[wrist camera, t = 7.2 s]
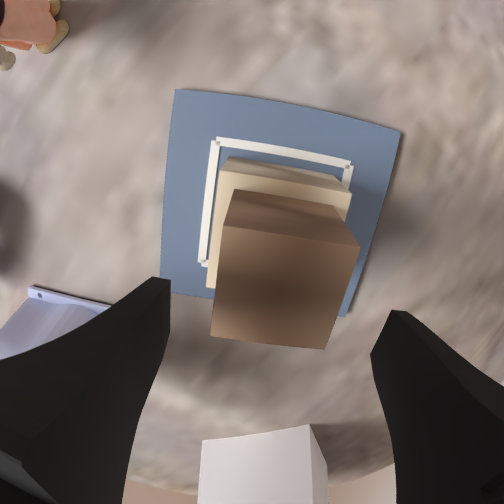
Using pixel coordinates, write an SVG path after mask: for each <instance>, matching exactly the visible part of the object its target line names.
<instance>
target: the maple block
mask: <svg viewBox="0 0 504 504" xmlns="http://www.w3.org/2000/svg"><path fill="white" fill-rule="evenodd" d="M234 189H239V190H245V191H252V192H258V193H265V194H271V195H277V196H283V197H289V198H295V199H300V200H306V201H312V202H317V203H322V204H328V205H333V206H334V208H335V209H336V211H337V212H338V214H339V215H340V217H341V218H342V220H343V221H344V222H345V219H346V215H347V211H348V208H349V204H350V200H351V196H352V194H351V193H350V191H349V190H348V189H347V188H346V187H345V186H344V185H343V184H342V183H341V182H340V181H339V180H338V179H337V178H336V177H335V176H334V175H330V174H325V173H320V172H316V171H311V170H305V169H300V168H295V167H290V166H284V165H278V164H273V163H267V162H261V161H255V160H248V159H242V158H235V157H228V158H227V160H226V161H225V163H224V164H223V166H222V168H221V169H220V172H219V179H218V186H217V194H216V202H215V210H214V218H213V226H212V235H211V244H210V252H209V262H208V271H207V281H206V287H208V288H214V289H215V287H216V278H217V269H218V261H219V253H220V244H221V236H222V229H223V223H224V220H225V217H226V214H227V210H228V207H229V204H230V201H231V197H232V194H233V191H234Z"/></svg>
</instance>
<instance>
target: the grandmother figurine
mask: <svg viewBox="0 0 504 504" xmlns="http://www.w3.org/2000/svg"><path fill="white" fill-rule="evenodd" d="M60 8H61V4H60V0H49V1H48V0H0V44H2V45H4V46H8V47H12V48H16V49H20V50H29V49H30V48H31V47H32V44H36V47H37V49H38V50H39V51H40V52H41V53H44V54H47V53H49V52H51V51H52V50H53V49H54V48H55V47H56V46H57V45H58V44H59V43H60V42H61V41H62V40H63V38H64V37H65V36H66V35H67V33H68V31H69V25H68V23H67V21H66V20H64V19H61V20H58V21H56V22H55V20H54V17H55V16H56V15H57V14H58V13H59V11H60ZM15 60H16V57H15V54H14V53H12V52H10V51H6V50H5V48H4V47H2V46H1V45H0V70H2V71H7V70H9V69H11V68H12V67H13V65H14V63H15Z"/></svg>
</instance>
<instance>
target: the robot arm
mask: <svg viewBox="0 0 504 504" xmlns="http://www.w3.org/2000/svg"><path fill="white" fill-rule="evenodd" d="M27 292H28V296H29V298H28V299H27V300H26V301H25V302H24V303H23V304H22V305H21V306H20V308H19V309H18V310H17V311H16V312H15V313H14V314H13V315H12V316H11V318H10V319H9V320H8V321H7V322H6V323H5V324H4V326H3V327H2V328H1V329H0V504H122V497H123V491H124V485H125V479H126V474H127V469H128V464H129V459H130V454H131V450H132V445H133V441H134V437H135V433H136V429H137V425H138V421H139V418H140V415H141V412H142V409H143V407H144V404H145V402H146V399H147V397H148V394H149V391H150V389H151V386H152V384H153V381H154V379H155V376H156V374H157V371H158V369H159V366H160V364H161V361H162V359H163V356H164V352H165V348H166V344H167V340H168V337H169V333H170V296H171V280H169V279H163V278H158V277H151V278H149V279H148V280H147V281H145V282H144V283H142V284H141V285H140V286H138V287H137V288H136V289H134V290H133V291H132V292H130V293H129V294H128V295H126V296H125V297H123V298H122V299H121V300H119V301H118V302H116V303H115V304H114V305H112V306H111V305H106V304H102V303H97V302H93V301H89V300H85V299H80V298H76V297H72V296H68V295H64V294H60V293H57V292H53V291H49V290H45V289H42V288H38V287H34V286H30V287H29V288H28V289H27ZM370 357H371V364H372V370H373V376H374V381H375V384H376V388H377V391H378V394H379V398H380V401H381V404H382V408H383V411H384V414H385V418H386V421H387V425H388V428H389V432H390V436H391V441H392V447H393V454H394V462H395V473H396V490H397V491H396V492H397V494H396V503H397V504H504V387H503V386H502V385H500V384H499V383H497V382H496V381H494V380H493V379H491V378H490V377H488V376H487V375H485V374H484V373H482V372H481V371H480V370H478V369H477V368H476V367H474V366H473V365H472V364H470V363H469V362H468V361H467V360H465V359H464V358H463V357H462V356H460V355H459V354H458V353H457V352H456V351H454V350H453V349H452V348H451V347H450V346H449V345H447V344H446V343H445V342H444V341H443V340H442V339H440V338H439V337H438V336H437V335H436V334H435V333H433V332H432V331H431V330H430V329H429V328H428V327H426V326H425V325H424V324H423V323H422V322H420V321H419V320H418V319H417V318H415V317H414V316H412V315H411V314H410V313H408V312H406V311H398V310H391V312H390V314H389V316H388V318H387V321H386V323H385V325H384V327H383V329H382V331H381V333H380V336H379V338H378V340H377V342H376V344H375V346H374V348H373V350H372V352H371V354H370Z"/></svg>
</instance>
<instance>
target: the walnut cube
mask: <svg viewBox="0 0 504 504" xmlns="http://www.w3.org/2000/svg"><path fill="white" fill-rule="evenodd" d="M360 248H361V247H360V246H359V244H358V243H357V241H356V239H355V238H354V236H353V235H352V233H351V232H350V230H349V229H348V227H347V226H346V224H345V223H344V221H343V220H342V218H341V217H340V215H339V214H338V212H337V211H336V209H335V208H334V206H333V205H328V204H322V203H317V202H312V201H306V200H300V199H295V198H289V197H283V196H277V195H271V194H265V193H258V192H252V191H245V190H239V189H234V191H233V194H232V197H231V201H230V204H229V207H228V210H227V214H226V217H225V220H224V223H223V229H222V236H221V244H220V253H219V261H218V269H217V278H216V287H215V296H214V305H213V314H212V323H211V333H210V336H214V337H221V338H228V339H235V340H242V341H249V342H257V343H265V344H274V345H282V346H292V347H302V348H313V349H324V350H325V347H326V344H327V342H328V339H329V337H330V334H331V332H332V329H333V326H334V324H335V321H336V318H337V316H338V313H339V310H340V307H341V305H342V302H343V299H344V296H345V293H346V291H347V288H348V285H349V282H350V279H351V276H352V273H353V270H354V267H355V264H356V261H357V257H358V254H359V251H360Z"/></svg>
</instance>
